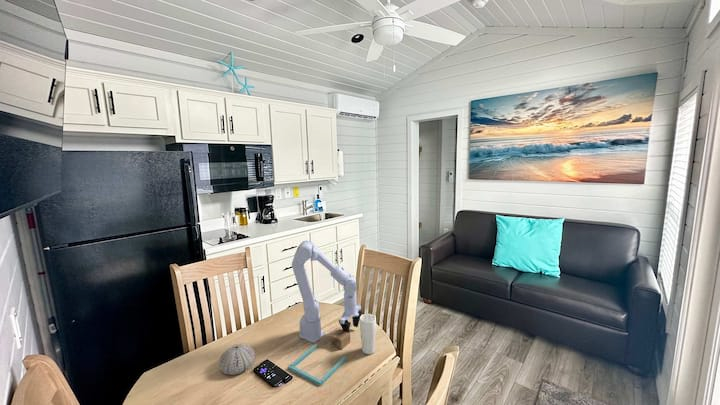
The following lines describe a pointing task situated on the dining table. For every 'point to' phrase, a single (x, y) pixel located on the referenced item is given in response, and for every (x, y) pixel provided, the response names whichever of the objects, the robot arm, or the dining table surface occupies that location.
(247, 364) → the sea urchin shell
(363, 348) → the white cup
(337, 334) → the walnut block
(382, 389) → the dining table surface
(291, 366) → the frame
